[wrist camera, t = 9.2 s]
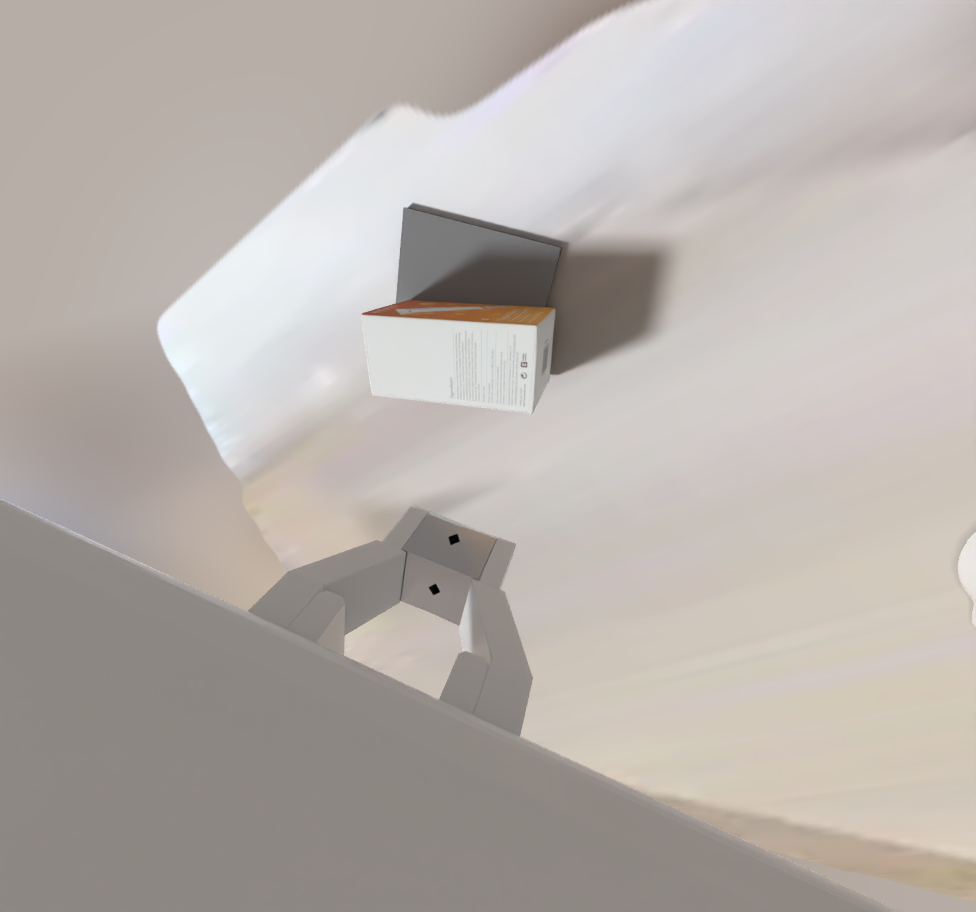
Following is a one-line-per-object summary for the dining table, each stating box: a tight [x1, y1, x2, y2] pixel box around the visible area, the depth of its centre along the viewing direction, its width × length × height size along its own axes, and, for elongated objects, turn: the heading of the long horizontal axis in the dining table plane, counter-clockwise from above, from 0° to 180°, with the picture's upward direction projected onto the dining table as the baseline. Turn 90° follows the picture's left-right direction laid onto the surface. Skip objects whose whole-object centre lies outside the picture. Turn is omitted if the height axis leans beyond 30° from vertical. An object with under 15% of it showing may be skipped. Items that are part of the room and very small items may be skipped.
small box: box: [361, 300, 556, 414], centre depth 32 cm, size 8×6×13 cm
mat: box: [396, 208, 562, 307], centre depth 34 cm, size 13×12×1 cm
